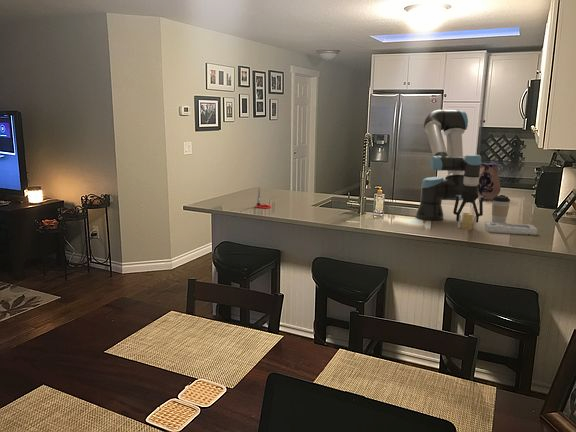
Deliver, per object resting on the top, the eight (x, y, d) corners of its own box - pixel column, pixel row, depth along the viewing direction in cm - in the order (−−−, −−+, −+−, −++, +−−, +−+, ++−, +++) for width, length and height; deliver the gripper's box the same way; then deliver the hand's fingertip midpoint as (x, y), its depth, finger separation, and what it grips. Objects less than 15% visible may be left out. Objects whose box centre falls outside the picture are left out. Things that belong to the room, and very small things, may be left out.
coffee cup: (506, 225, 262) (509, 198, 259) (488, 222, 267) (491, 196, 264) (508, 222, 270) (511, 195, 266) (491, 219, 274) (494, 193, 271)
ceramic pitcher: (469, 199, 339) (473, 163, 333) (477, 195, 356) (480, 161, 350) (496, 202, 329) (500, 165, 324) (502, 197, 346) (506, 163, 341)
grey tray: (488, 232, 246) (488, 226, 246) (484, 227, 256) (485, 221, 255) (536, 235, 242) (537, 229, 241) (531, 230, 251) (532, 224, 251)
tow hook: (273, 207, 301) (259, 205, 304) (274, 187, 298) (260, 185, 301) (268, 210, 294) (254, 208, 296) (269, 189, 290) (255, 187, 293)
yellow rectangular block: (462, 229, 251) (463, 214, 250) (461, 227, 256) (462, 212, 254) (471, 229, 251) (473, 214, 249) (470, 227, 255) (471, 213, 253)
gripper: (451, 184, 246) (447, 228, 251) (492, 186, 242) (487, 231, 247) (449, 182, 254) (445, 225, 259) (489, 184, 250) (485, 227, 255)
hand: (466, 227), depth 253 cm, fingers open, 7 cm apart
